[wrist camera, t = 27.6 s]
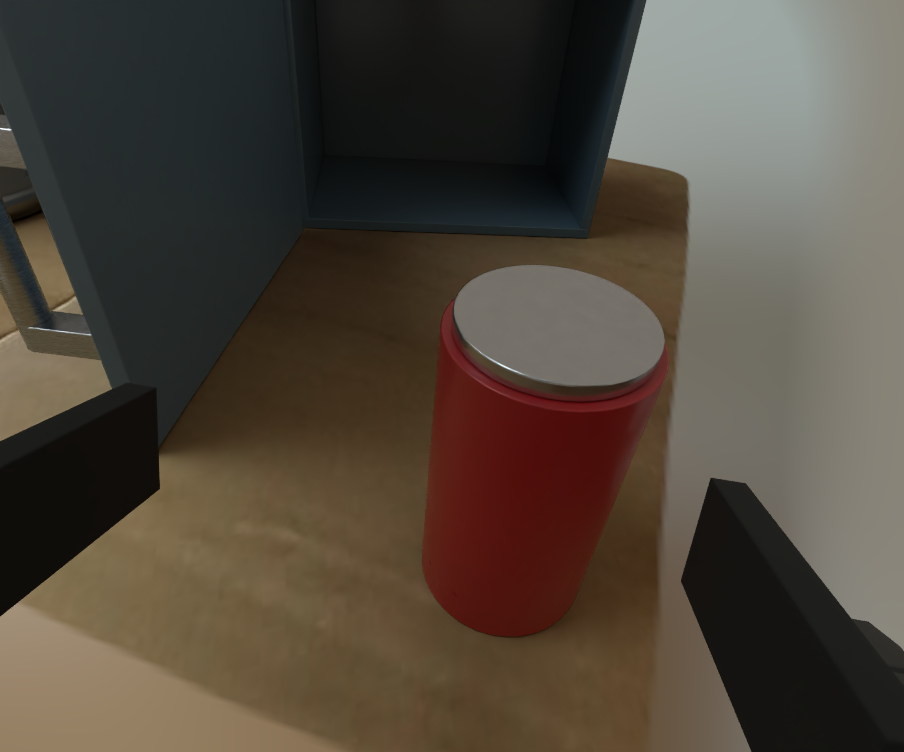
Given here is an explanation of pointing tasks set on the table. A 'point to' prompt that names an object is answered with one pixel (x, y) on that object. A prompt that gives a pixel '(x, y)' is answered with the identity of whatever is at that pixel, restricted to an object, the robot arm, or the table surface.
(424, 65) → the fridge
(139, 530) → the table surface
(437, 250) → the table surface
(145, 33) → the fridge door
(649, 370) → the can
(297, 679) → the table surface
